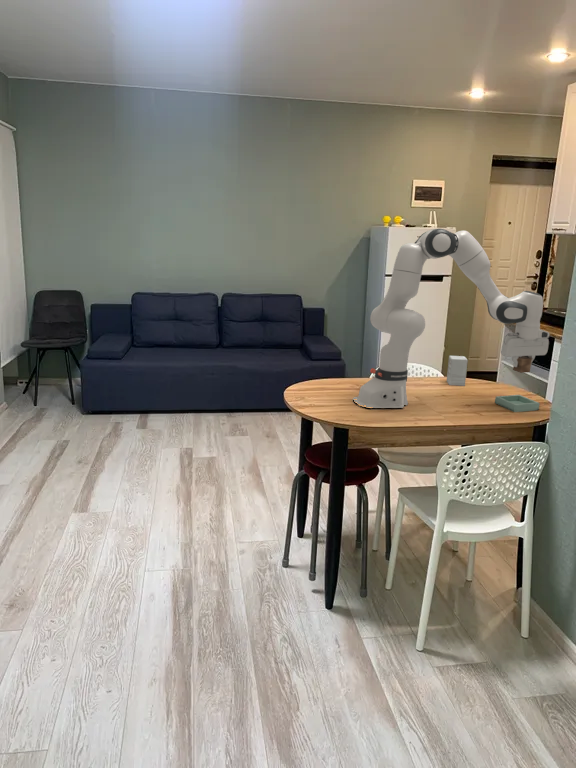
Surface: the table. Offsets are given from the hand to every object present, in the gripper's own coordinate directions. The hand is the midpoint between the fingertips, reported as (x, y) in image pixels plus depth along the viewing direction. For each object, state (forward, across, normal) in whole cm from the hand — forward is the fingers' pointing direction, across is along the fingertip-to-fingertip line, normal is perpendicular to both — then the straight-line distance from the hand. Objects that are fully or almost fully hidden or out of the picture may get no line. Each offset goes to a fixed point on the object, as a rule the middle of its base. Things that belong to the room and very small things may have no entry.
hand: (522, 366), depth 233 cm
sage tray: (+17, 0, 0) cm, 17 cm away
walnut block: (+2, 0, 0) cm, 2 cm away
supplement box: (+17, -4, +37) cm, 41 cm away
